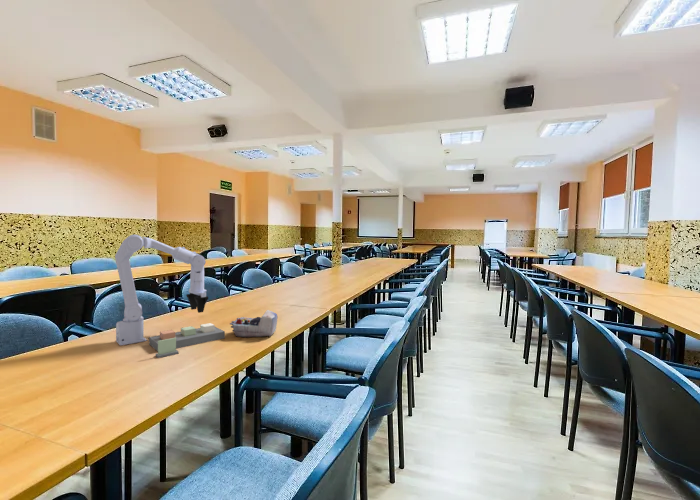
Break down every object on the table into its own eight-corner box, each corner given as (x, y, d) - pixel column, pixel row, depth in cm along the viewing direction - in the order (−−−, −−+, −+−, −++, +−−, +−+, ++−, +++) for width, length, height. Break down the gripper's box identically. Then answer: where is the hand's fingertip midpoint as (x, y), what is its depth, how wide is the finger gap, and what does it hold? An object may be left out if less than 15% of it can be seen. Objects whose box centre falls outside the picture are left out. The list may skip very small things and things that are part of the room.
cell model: (274, 314, 147) (227, 315, 146) (274, 338, 148) (228, 339, 147) (278, 307, 160) (235, 308, 159) (279, 330, 161) (236, 330, 160)
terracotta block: (163, 344, 133) (163, 334, 133) (159, 341, 136) (159, 331, 136) (175, 341, 136) (175, 332, 136) (171, 339, 140) (171, 329, 139)
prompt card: (158, 358, 123) (157, 342, 122) (155, 355, 125) (155, 340, 125) (178, 353, 128) (178, 338, 127) (175, 351, 130) (175, 336, 130)
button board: (158, 352, 129) (158, 344, 129) (149, 344, 137) (149, 337, 137) (224, 338, 147) (224, 331, 147) (213, 332, 156) (213, 325, 155)
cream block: (204, 336, 145) (204, 326, 144) (200, 333, 148) (200, 324, 148) (214, 334, 148) (214, 325, 148) (210, 331, 151) (210, 323, 151)
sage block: (184, 340, 139) (184, 330, 139) (180, 337, 142) (180, 328, 142) (195, 337, 142) (195, 328, 142) (191, 335, 145) (191, 326, 145)
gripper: (213, 282, 151) (212, 312, 151) (199, 278, 161) (199, 306, 162) (196, 283, 146) (196, 314, 146) (184, 279, 156) (184, 308, 156)
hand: (197, 310), depth 154 cm, fingers open, 7 cm apart
